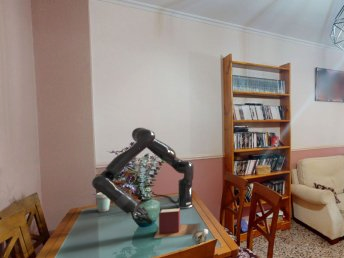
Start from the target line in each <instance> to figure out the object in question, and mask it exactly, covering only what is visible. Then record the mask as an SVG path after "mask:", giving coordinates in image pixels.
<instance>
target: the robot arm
mask: <svg viewBox="0 0 344 258" xmlns="http://www.w3.org/2000/svg"><path fill="white" fill-rule="evenodd" d="M131 138H132V140H133V141H134V142H135V143H134V144H133V145H132V146H131V147H130V148H128V149H126V150H125V151H123V152H121V153H119V154H117V155H116V156H115V157H114V158H113V159H112V160H111V161H110V162H109V163H108V164H107V166H105V168H104V170H103V171H102V172H101V173H100V174H99V175H97V176H95V177H94V178H93V179H92V180H91V186H92V187H93V188H94V189H95V190H96V191H98V193H100V192H101V193H102V194H104V195H105V196H106V197H107V198H108V199H110V202H112V203H113V204H114V205H115V206H116V207H117V208H119V209H120V210H121V211H122V212H124V213H125V214H127V215H128V214H131V215H132V216H133V217H132V219H133V220H135V221H137V222H145V223H147V224H148V225H152V224H153V223H154V219H152V218H150V217H149V212H148V211H147V209H146V208H145V207H144V206H142V207H141V206H139V201H138V200H136V199H135V198H134V197H133V196H131V195H130V194H129V193H127V192H125V191H124V189H122V188H121V187H119V186H117V185H116V184H115V182H113V181H114V180H115V178H116V177H117V176H118V175H119V174H120V173H121V172H122V171H123V170H124V169H125V168H126V167H127V165H128V164H129V163H130V162H132V160H134V159H135V158H136V157H137V156H138V155H140V154H141V153H142V152H143V151H145V149H148V150H149V151H150V152H151V153H152V154H154V155H155V156H156V157H157V158H159V159H160V160H161V161H163V162H165V163H166V164H167V165H169V166H170V167H172V169H173V170H174V171H175V172H176V173H178V174H183V177H181V178H179V179H178V184H177V185H178V186H177V187H178V198H177V200H176V201H175V200H174V199H173V198H172V197H171V196H169V195H165V194H157V193H156V194H155V192H154V191H152V192H151V194H152V195H153V196H156V197H163V198H169V200H170V201H171V202H173V203H174V204H178V206H177V207H178V208H180V210H181V209H182V210H183V209H189V208H192V207H193V181H194V173H195V172H194V171H195V170H194V169H195V166H194V163H193V161H190V160H183V159H180V158H179V157H177V153H176V151H175V150H174V149H173V148H172V147H170V146H169V145H167V144H166V143H164V142H162V141H161V140H159V139H157V138H156V134H155V132H154V131H153V130H151V129H148V128H146V127H136V128H134V129H133V130H132V132H131ZM139 148H140V149H139Z"/></svg>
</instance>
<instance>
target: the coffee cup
mask: <svg viewBox="0 0 344 258" xmlns="http://www.w3.org/2000/svg"><path fill="white" fill-rule="evenodd" d="M95 199H96V205H97V211H98V213H105V212H108V211H109V210H110V205H111V200H110V199H108V198H107V197H106V196H105V195H104V194H102V193H101V192H98V193H96V195H95Z"/></svg>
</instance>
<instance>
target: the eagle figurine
mask: <svg viewBox="0 0 344 258" xmlns="http://www.w3.org/2000/svg"><path fill="white" fill-rule="evenodd" d="M208 234H209V229H207V228H204V229H203V230H202V229H198V230H197V229H196V232H195V233H194V234H192V238H191V239H192V240H195V241H196V242H197V243H196V246H198V245H197V244H200V243H202V242H205V243H206V242H207V235H208Z"/></svg>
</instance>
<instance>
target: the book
mask: <svg viewBox="0 0 344 258" xmlns="http://www.w3.org/2000/svg"><path fill="white" fill-rule="evenodd" d="M180 225H181V208H179V207H178V208H166V209H160V210H159V212H158V229H159V234H168V233H178V232H179V230H180Z"/></svg>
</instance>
